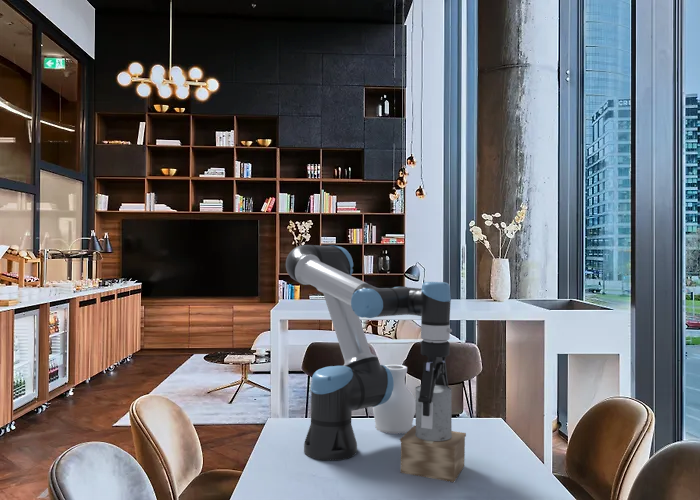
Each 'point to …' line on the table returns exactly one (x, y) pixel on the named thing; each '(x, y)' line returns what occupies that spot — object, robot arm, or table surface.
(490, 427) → the table surface
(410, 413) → the vase
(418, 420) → the grey cylinder
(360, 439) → the table surface
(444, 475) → the box
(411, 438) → the lid
